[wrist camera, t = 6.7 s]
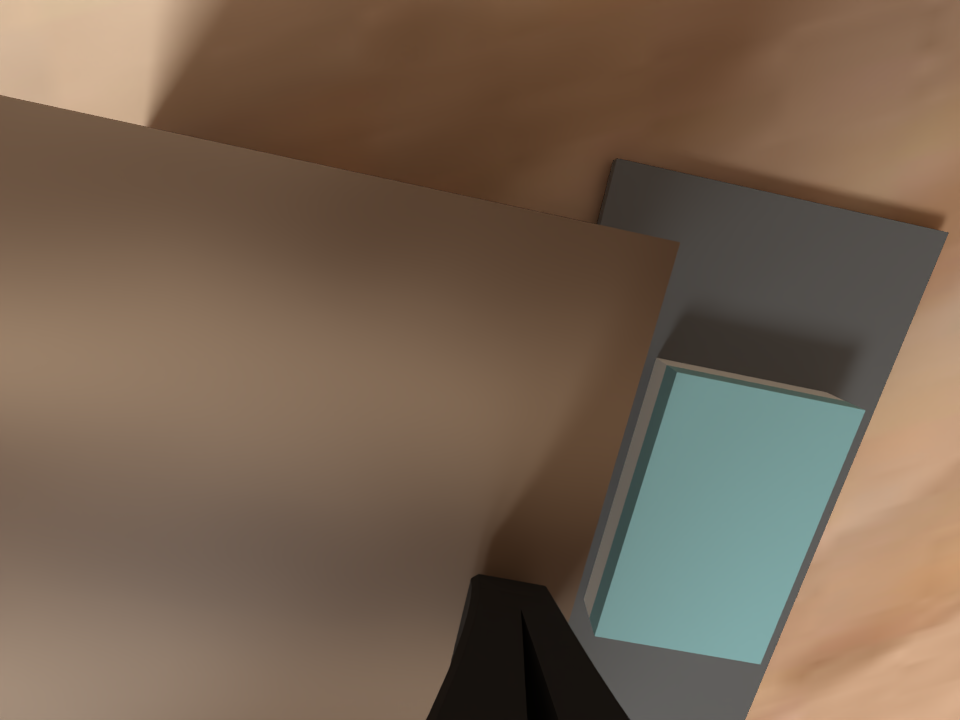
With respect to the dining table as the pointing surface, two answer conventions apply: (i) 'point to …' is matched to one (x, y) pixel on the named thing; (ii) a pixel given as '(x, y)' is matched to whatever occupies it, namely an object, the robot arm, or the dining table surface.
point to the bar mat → (754, 362)
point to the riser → (285, 421)
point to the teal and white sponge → (716, 510)
